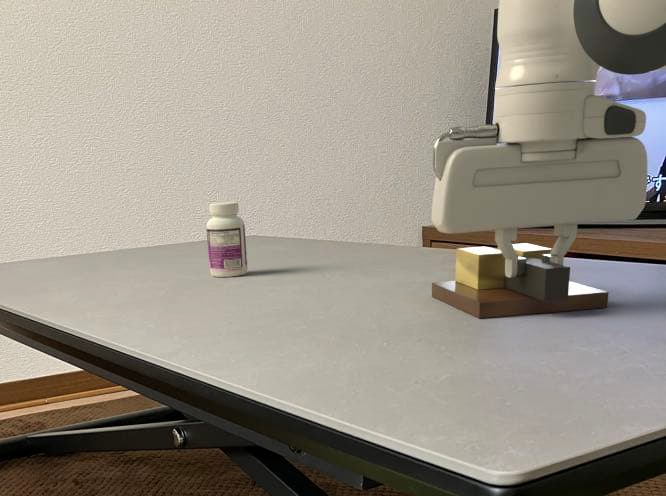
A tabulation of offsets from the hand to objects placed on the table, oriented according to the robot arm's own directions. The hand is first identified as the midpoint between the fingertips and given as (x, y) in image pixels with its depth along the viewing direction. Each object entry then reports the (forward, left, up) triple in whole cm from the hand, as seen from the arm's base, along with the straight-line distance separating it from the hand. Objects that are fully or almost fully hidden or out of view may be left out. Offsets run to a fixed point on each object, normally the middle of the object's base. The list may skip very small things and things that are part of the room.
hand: (533, 275), depth 89 cm
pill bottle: (+26, -45, -3) cm, 52 cm away
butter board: (0, -5, -3) cm, 6 cm away
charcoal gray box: (0, -3, -2) cm, 4 cm away
